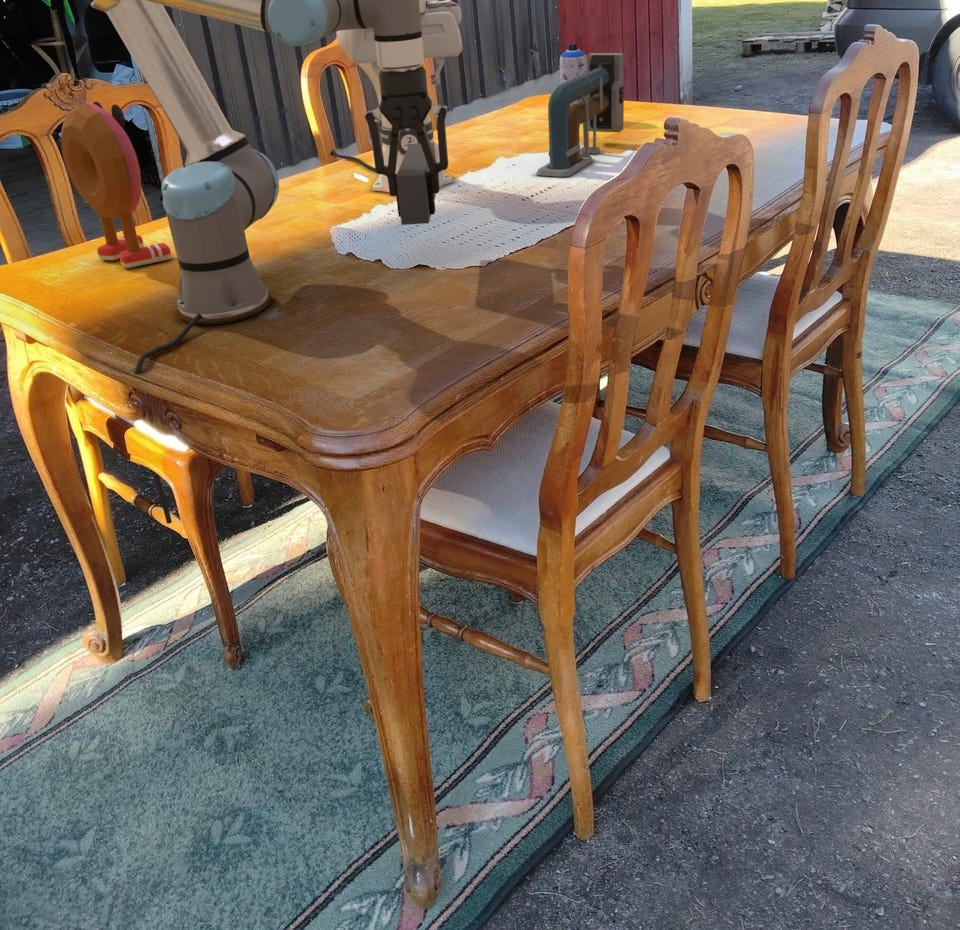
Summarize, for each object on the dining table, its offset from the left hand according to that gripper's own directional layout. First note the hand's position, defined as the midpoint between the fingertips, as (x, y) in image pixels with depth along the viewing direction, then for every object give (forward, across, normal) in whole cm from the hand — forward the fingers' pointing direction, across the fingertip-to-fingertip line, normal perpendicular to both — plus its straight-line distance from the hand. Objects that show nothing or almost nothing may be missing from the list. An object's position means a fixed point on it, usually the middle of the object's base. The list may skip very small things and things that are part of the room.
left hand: (417, 212), depth 165 cm
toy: (+12, +61, -23) cm, 66 cm away
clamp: (+12, -32, -81) cm, 88 cm away
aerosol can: (+12, -33, -127) cm, 132 cm away
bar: (+1, 0, -7) cm, 7 cm away
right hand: (-16, +2, -25) cm, 30 cm away
